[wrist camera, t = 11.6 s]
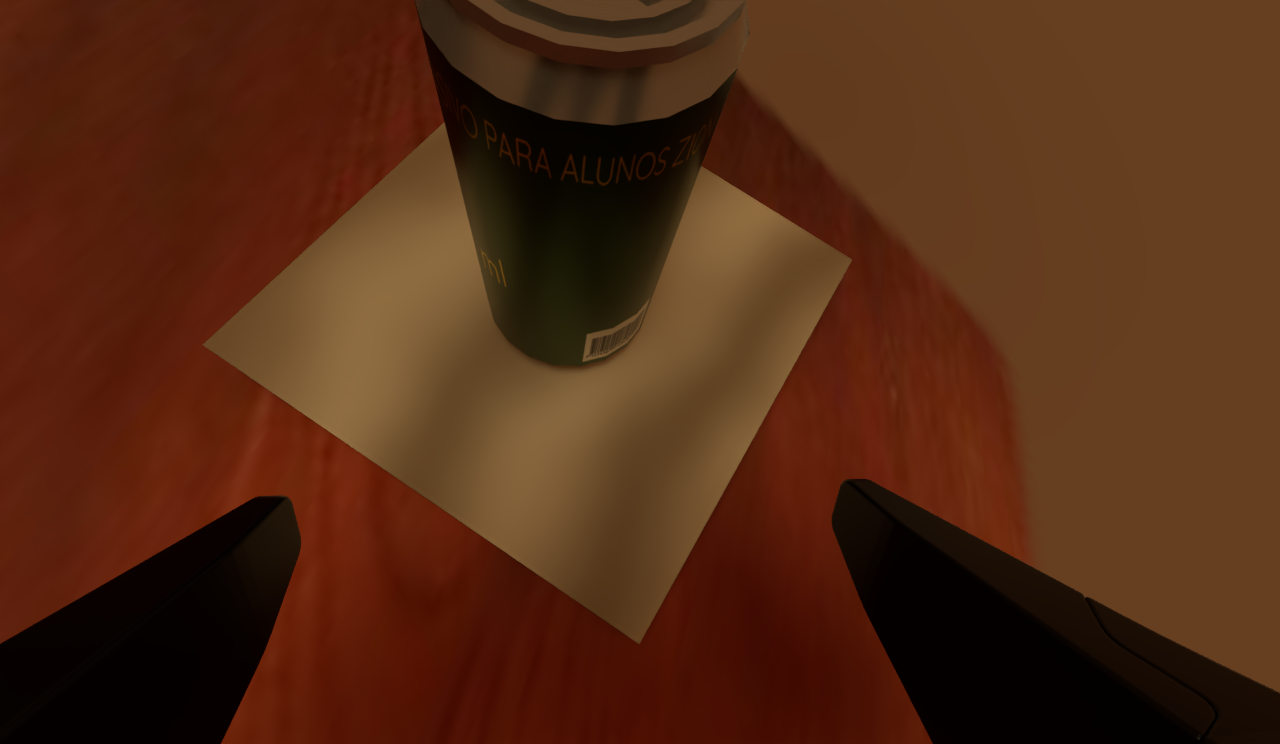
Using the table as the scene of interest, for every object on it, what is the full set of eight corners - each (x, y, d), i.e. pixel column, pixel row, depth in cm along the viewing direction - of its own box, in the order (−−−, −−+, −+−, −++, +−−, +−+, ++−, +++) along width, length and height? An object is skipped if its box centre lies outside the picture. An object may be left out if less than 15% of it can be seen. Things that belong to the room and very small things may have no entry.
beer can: (675, 308, 19) (841, -38, 8) (564, 406, 18) (587, 133, 6) (572, 210, 20) (597, -231, 9) (456, 295, 18) (305, -125, 7)
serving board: (827, 284, 23) (852, 259, 21) (629, 635, 17) (639, 644, 16) (521, 92, 24) (519, 53, 22) (238, 367, 18) (202, 344, 17)
